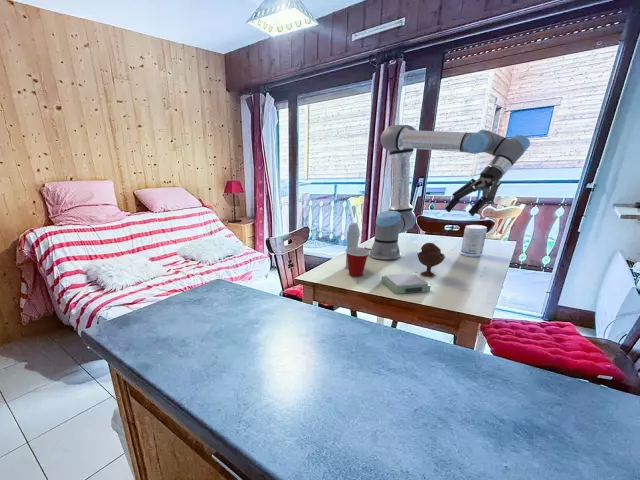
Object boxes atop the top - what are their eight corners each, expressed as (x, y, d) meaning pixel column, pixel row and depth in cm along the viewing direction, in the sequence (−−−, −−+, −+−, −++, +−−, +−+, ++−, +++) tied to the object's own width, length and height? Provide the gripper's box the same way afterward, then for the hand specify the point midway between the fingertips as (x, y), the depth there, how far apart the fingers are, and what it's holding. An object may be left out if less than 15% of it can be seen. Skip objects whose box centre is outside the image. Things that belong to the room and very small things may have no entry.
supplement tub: (471, 251, 176) (476, 224, 170) (486, 255, 167) (492, 227, 162) (455, 253, 174) (460, 225, 169) (470, 258, 166) (476, 229, 160)
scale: (381, 281, 144) (382, 274, 142) (412, 279, 144) (413, 272, 143) (396, 294, 130) (397, 287, 129) (431, 292, 130) (432, 284, 129)
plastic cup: (355, 280, 146) (357, 255, 141) (339, 274, 155) (340, 249, 150) (373, 275, 150) (375, 250, 146) (356, 269, 159) (358, 245, 155)
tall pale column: (353, 262, 169) (355, 220, 161) (360, 264, 167) (363, 221, 158) (342, 267, 163) (344, 224, 154) (349, 269, 160) (351, 225, 152)
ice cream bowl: (439, 280, 141) (444, 246, 135) (411, 276, 147) (416, 243, 141) (443, 273, 148) (449, 241, 143) (417, 269, 155) (421, 238, 149)
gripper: (527, 177, 125) (486, 221, 129) (476, 176, 148) (443, 214, 152) (517, 164, 123) (476, 209, 126) (466, 165, 146) (433, 203, 149)
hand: (458, 212), depth 139 cm, fingers open, 13 cm apart
